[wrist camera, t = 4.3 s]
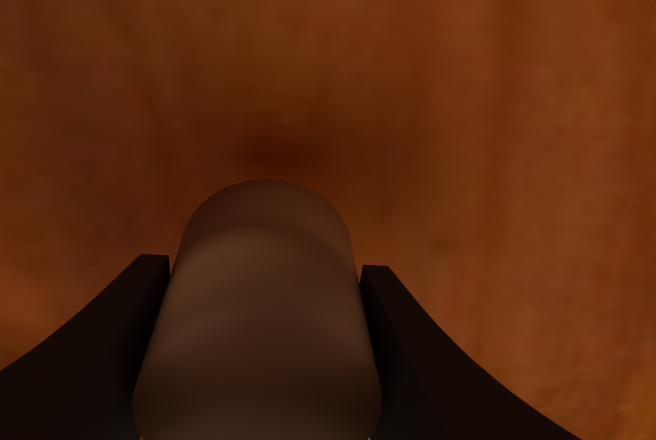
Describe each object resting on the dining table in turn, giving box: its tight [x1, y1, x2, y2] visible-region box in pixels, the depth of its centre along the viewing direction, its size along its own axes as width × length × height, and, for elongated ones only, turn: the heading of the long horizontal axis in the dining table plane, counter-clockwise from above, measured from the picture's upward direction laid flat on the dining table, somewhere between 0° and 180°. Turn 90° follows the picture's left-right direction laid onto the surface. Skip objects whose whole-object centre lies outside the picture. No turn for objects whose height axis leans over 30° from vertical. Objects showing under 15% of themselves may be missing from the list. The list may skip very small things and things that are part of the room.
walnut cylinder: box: [132, 180, 382, 440], centre depth 11 cm, size 4×4×5 cm
